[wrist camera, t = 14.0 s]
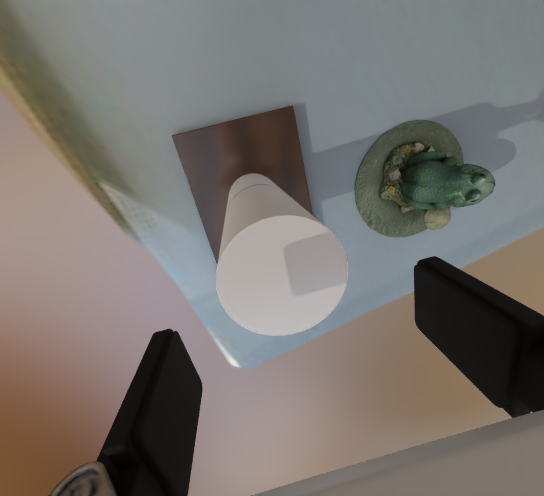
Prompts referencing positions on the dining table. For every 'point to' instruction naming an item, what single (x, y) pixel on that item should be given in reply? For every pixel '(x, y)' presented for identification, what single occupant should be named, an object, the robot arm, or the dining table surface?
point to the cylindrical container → (276, 261)
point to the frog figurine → (417, 180)
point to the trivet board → (241, 163)
